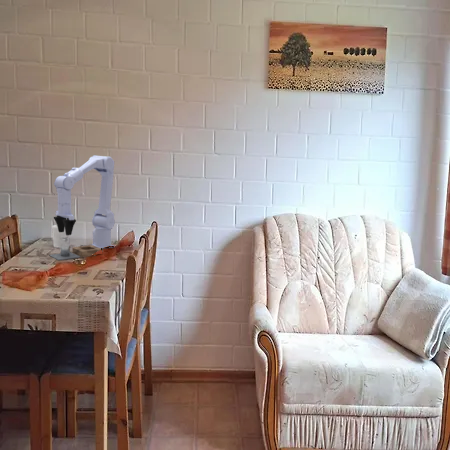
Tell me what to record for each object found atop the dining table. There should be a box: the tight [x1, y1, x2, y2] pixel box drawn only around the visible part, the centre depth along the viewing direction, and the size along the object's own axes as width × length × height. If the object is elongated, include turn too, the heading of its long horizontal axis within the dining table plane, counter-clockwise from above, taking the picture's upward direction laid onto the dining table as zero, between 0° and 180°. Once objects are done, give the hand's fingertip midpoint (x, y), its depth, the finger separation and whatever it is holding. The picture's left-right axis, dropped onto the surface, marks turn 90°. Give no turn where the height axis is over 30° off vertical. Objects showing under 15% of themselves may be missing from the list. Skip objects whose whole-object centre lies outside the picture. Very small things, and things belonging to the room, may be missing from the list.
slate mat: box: [49, 251, 81, 261], centre depth 240 cm, size 10×10×1 cm
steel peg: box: [59, 237, 71, 257], centre depth 239 cm, size 4×4×8 cm
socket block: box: [71, 244, 101, 258], centre depth 247 cm, size 10×10×2 cm
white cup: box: [51, 224, 70, 249], centre depth 258 cm, size 8×8×10 cm
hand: (65, 233), depth 239 cm, fingers open, 7 cm apart
